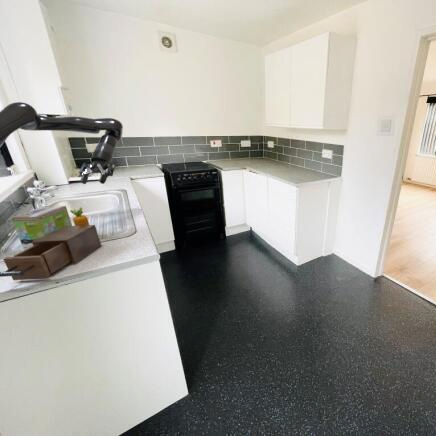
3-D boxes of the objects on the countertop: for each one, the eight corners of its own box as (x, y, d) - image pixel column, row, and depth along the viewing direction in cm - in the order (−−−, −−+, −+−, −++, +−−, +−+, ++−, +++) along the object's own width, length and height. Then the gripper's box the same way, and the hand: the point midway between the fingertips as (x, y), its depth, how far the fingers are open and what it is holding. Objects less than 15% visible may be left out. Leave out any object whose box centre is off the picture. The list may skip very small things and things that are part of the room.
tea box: (52, 250, 100) (38, 215, 94) (23, 252, 98) (8, 217, 93) (76, 235, 113) (66, 204, 108) (52, 236, 112) (40, 206, 107)
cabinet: (75, 264, 89) (66, 240, 85) (41, 265, 88) (31, 241, 85) (101, 246, 102) (95, 224, 99) (72, 247, 102) (64, 226, 98)
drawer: (33, 287, 74) (23, 265, 71) (-4, 289, 73) (-15, 267, 70) (78, 258, 91) (72, 239, 88) (49, 259, 90) (41, 240, 88)
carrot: (78, 243, 105) (66, 210, 100) (82, 239, 109) (71, 207, 104) (92, 241, 107) (81, 208, 102) (95, 237, 111) (85, 205, 106)
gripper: (123, 159, 121) (113, 187, 114) (94, 159, 121) (83, 187, 114) (113, 149, 114) (101, 178, 107) (83, 149, 114) (69, 178, 108)
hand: (92, 183), depth 111 cm, fingers open, 8 cm apart
